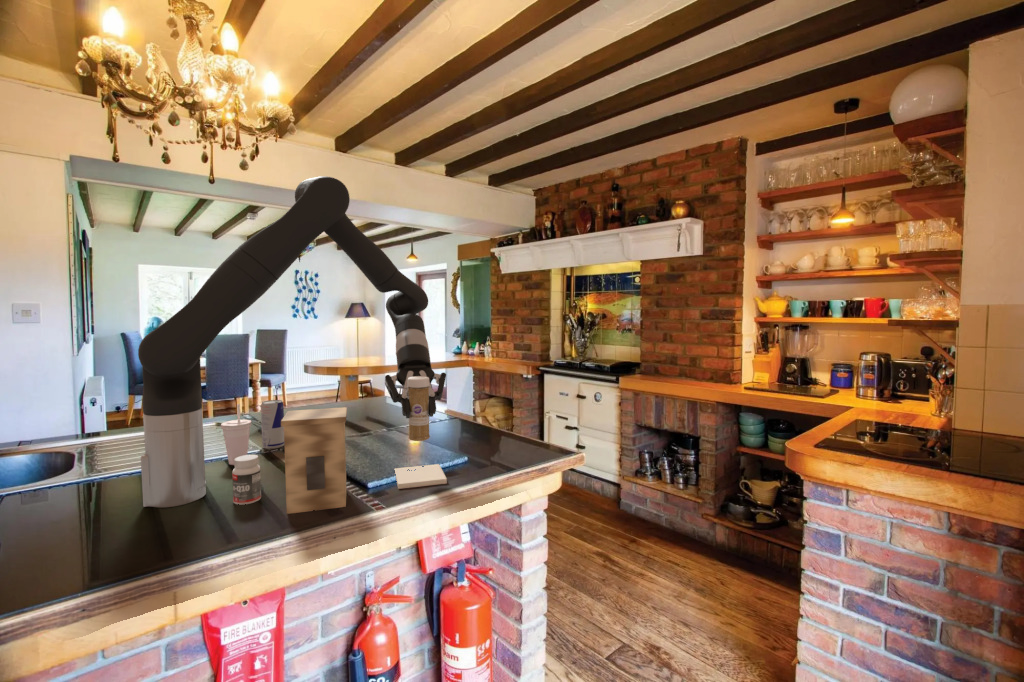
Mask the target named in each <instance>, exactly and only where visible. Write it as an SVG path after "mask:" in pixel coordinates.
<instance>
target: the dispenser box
mask: <svg viewBox="0 0 1024 682" xmlns="http://www.w3.org/2000/svg"><path fill="white" fill-rule="evenodd" d="M347 408H348V407H347V406H346V407H345V406H344V407H331V408H328V407H326V408H313V409H311V408H310V409H298V410H297V409H296V410H295V409H293V410H287V411H286V413H284V417H283V419H282V420H281V427H284V466H285V467H284V468H285V469H284V470H285V472H284V473H285V474H284V475H285V499H286V515H289V514H296V513H305V512H312V511H313V510H315V511H321V510H329V509H337V508H346V507H347V506H346V505H347V464H346V463H347V459H346V457H347V455H346V454H347V453H346V452H347V451H346V422H347V417H348V416H347V415H348V412H347V411H348V409H347Z"/></svg>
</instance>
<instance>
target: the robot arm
mask: <svg viewBox="0 0 1024 682" xmlns="http://www.w3.org/2000/svg"><path fill="white" fill-rule="evenodd" d="M294 201H295V203H294V204H293V205H292V206H291V207H290V208H289V209H288V211H286V213H284V215H282V216H281V217H280V218H278V219H277V220H276V221H274V222H273V223H271V224H269V225H268V226H266V227H264V228H263V229H261V230H259V232H258V231H257V233H255V234H253V235H252V236H250V238H248V239H247V240H246V241H244V242H243V243H241V245H239V246H238V247H237V248H236V249H235V250H234V251H233V252H232V253H231V254H230V255H229V256H228V257H226V258H225V259H224V261H223V262H221V264H220V265H218V267H217V268H216V269H215V270H214V272H213V273H212V274H211V275H210V276H209V278H208V279H206V281H205V282H204V284H203V285H202V286H201V288H200V289H199V290H198V291H197V293H196V294H195V295H194V296H193V297H192V298H191V300H190V301H189V302H187V304H185V305H184V306H183V307H182V308H181V309H179V310H178V311H177V312H176V313H175V314H174V315H172V316H171V317H169V318H168V319H167V320H166V321H165V322H163V323H162V324H161V325H159V326H158V327H157V328H155V329H154V330H152V331H150V332H149V333H148V334H146V335H145V336H144V338H143V339H142V340H141V341H140V343H139V346H138V350H137V351H138V353H137V354H138V355H137V356H138V360H139V362H140V364H141V367H142V382H143V383H142V384H143V385H142V387H143V388H142V416H143V434H144V435H143V436H144V437H143V438H144V453H143V454H142V455H141V457H140V471H141V473H140V474H141V488H142V490H141V491H142V506H143V507H144V508H146V507H152V508H170V507H171V508H172V507H178V506H182V505H187V504H190V503H193V502H196V501H199V500H200V499H201V498H203V497H205V495H206V494H207V491H206V490H207V489H206V485H207V483H206V466H205V462H206V461H205V444H204V443H205V442H204V441H205V440H204V422H203V420H204V419H203V400H202V399H203V395H202V391H203V390H202V371H201V356H202V355H203V354H204V353H205V351H206V350H207V348H208V347H209V346H210V345H211V344H212V343H213V341H215V339H216V338H217V336H218V335H219V334H220V333H221V332H222V331H223V329H225V328H226V326H227V325H229V324H230V323H232V322H233V320H235V319H236V318H237V317H239V316H240V315H241V314H242V313H244V312H245V311H247V310H248V309H249V308H250V307H251V306H252V305H253V304H254V303H255V302H256V301H257V300H259V299H260V298H261V297H262V296H264V294H265V293H266V292H267V291H268V290H269V289H270V288H271V287H272V286H273V285H274V284H275V283H276V282H277V281H278V280H279V279H280V278H281V277H282V275H283V274H284V273H286V271H287V270H288V269H289V268H290V267H291V266H292V265H293V263H294V262H295V261H297V259H298V258H299V257H300V256H301V255H302V253H304V251H305V250H306V248H308V247H309V245H310V244H311V243H312V242H314V240H315V239H317V238H318V237H319V236H320V235H322V234H323V233H325V234H326V235H327V236H328V237H329V238H330V239H331V240H332V241H333V242H334V243H335V244H336V245H337V247H339V248H340V249H341V250H342V251H343V252H344V253H345V254H346V256H347V257H349V258H350V260H351V261H352V262H353V263H354V265H356V266H357V268H358V269H359V270H360V271H361V272H362V273H363V276H365V277H366V278H367V279H368V281H369V282H370V283H371V284H372V286H373V287H374V288H375V289H376V290H377V291H378V292H380V293H382V294H384V293H390V292H395V293H393V294H392V295H390V296H389V297H387V300H386V302H385V309H386V311H387V314H388V315H389V317H390V319H391V322H392V324H393V327H394V331H395V355H396V363H397V364H396V365H397V367H396V368H397V371H396V374H395V375H390V374H387V375H385V377H384V385H385V388H386V390H387V392H388V394H389V396H390V398H391V400H392V402H393V403H400V404H401V412H402V416H403V417H405V419H409V418H410V407H409V389H408V378H409V377H414V376H425V377H429V418H430V417H431V418H432V417H433V418H434V415H436V412H437V403H436V401H437V400H438V401H441V400H442V397H443V393H444V388H445V383H446V378H447V373H446V372H441V373H435V371H434V370H433V368H432V364H431V357H430V348H429V343H428V339H427V335H426V328H425V323H424V320H423V317H421V316H420V315H418V314H419V313H422V312H423V311H425V310H426V309H427V308H428V306H429V298H428V295H427V293H426V292H425V290H424V289H423V288H422V287H421V286H420V285H419V284H417V283H416V282H414V281H413V280H412V279H410V278H409V277H407V276H406V275H405V274H403V273H402V272H401V271H400V270H399V269H398V268H397V266H396V265H395V264H394V263H393V261H392V260H391V259H390V258H389V257H388V255H387V254H386V253H385V252H384V250H382V249H381V248H380V247H379V246H378V244H377V243H375V242H374V241H372V239H371V238H369V237H368V236H367V235H366V234H365V233H364V232H362V230H360V229H359V228H358V227H357V226H356V225H355V223H353V221H351V219H350V218H349V217H348V215H347V214H346V213H347V211H348V209H349V206H350V193H349V189H348V188H347V186H346V185H345V184H344V183H343V182H342V181H341V180H339V179H337V178H335V177H331V176H327V175H326V176H325V175H324V176H323V175H322V176H321V175H319V176H316V177H314V176H313V177H310V178H307V179H304V180H302V181H301V182H299V184H298V185H297V187H296V189H295V191H294ZM433 380H435V383H436V385H437V386H438V387H437V390H436V391H434V390H433V387H432V384H431V383H432V382H433ZM397 382H398V383H399V384H400V385H401V386H402V387H403V391H402V393H399V391H398V388H397V386H396V384H397Z"/></svg>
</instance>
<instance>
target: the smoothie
mask: <svg viewBox="0 0 1024 682" xmlns="http://www.w3.org/2000/svg"><path fill="white" fill-rule="evenodd" d="M240 408H241V406H240V403H237V404H236V413H237V419H232V420H228V421H224V422H222V423H220V429H221V430H222V434H223V439H224V443H225V444H224V445H225V449H226V455H227V461H228V464H229V465H230V466H234V459H235V458H237V457H239V456H243V455H249V454H248V453H249V452H248V450H249V441H250V432H251V426H252V420H250V419H241V409H240Z"/></svg>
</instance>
